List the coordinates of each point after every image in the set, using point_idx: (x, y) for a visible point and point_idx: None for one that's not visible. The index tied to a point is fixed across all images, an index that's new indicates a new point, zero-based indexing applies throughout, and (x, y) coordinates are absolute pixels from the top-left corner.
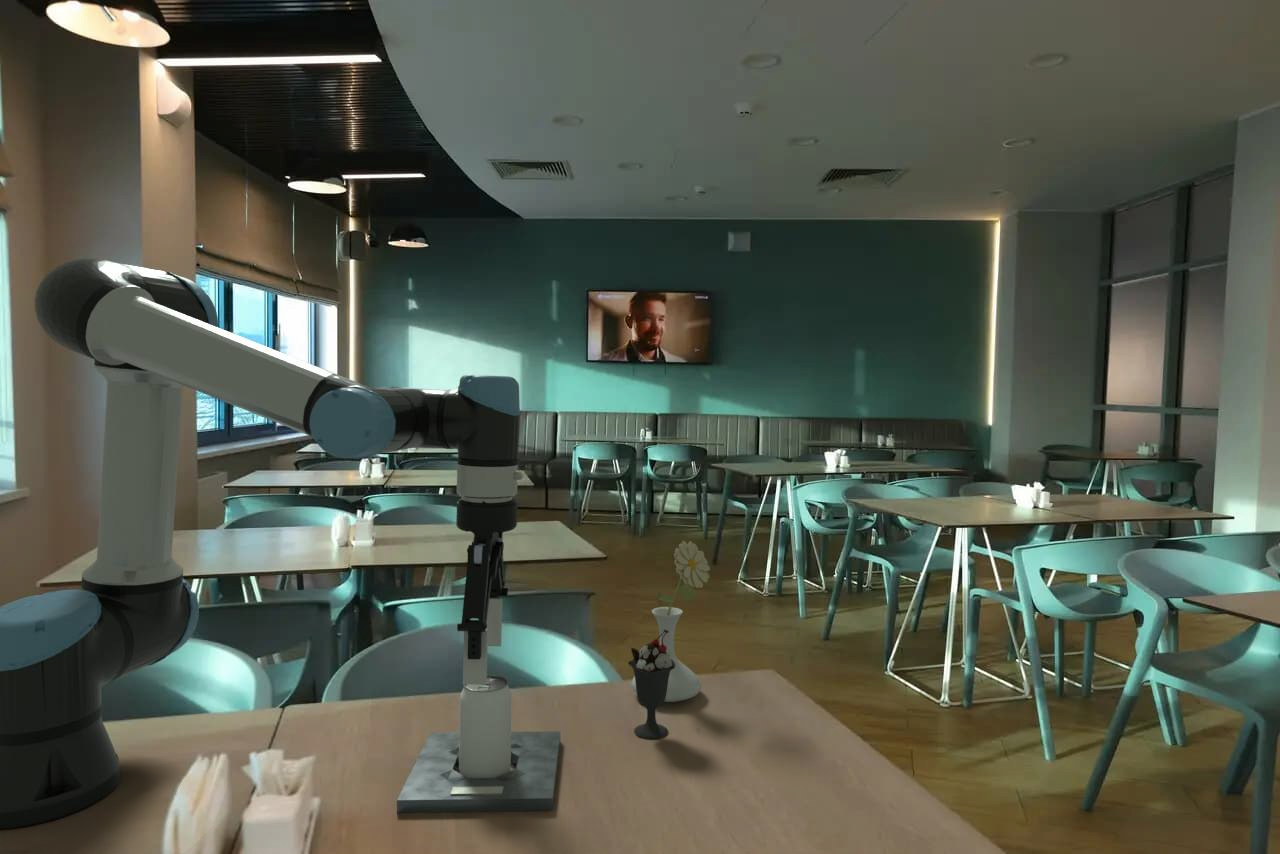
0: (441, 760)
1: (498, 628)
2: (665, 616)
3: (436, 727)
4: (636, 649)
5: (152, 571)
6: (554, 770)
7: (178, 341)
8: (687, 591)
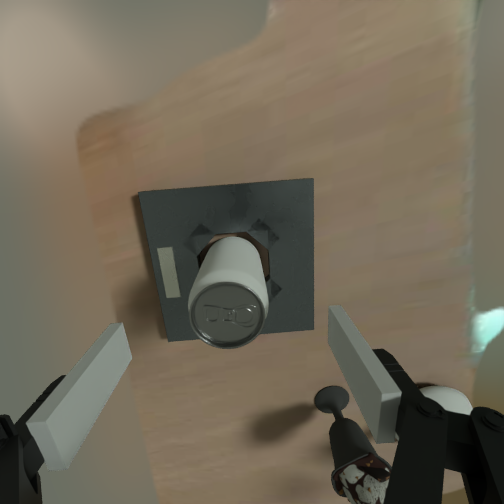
0: (235, 215)
1: (342, 365)
2: None
3: (356, 172)
4: (388, 479)
5: None
6: None
7: None
8: None
